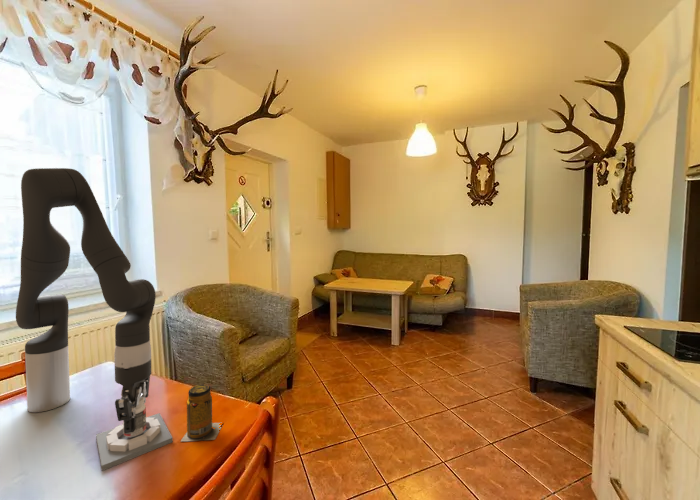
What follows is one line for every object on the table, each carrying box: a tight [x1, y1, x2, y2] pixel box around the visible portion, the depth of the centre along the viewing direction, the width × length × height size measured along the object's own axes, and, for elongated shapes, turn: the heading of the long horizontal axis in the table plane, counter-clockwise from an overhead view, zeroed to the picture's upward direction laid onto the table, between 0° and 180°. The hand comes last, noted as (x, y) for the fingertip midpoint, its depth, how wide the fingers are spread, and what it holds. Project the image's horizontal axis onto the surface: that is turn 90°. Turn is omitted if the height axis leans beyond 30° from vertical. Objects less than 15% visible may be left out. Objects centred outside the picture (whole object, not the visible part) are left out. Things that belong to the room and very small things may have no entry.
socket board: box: [95, 413, 174, 472], centre depth 78 cm, size 14×14×3 cm
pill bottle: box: [122, 396, 147, 437], centre depth 78 cm, size 5×5×8 cm
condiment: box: [180, 383, 222, 442], centre depth 81 cm, size 7×8×12 cm
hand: (134, 424), depth 78 cm, fingers closed on pill bottle, 4 cm apart
